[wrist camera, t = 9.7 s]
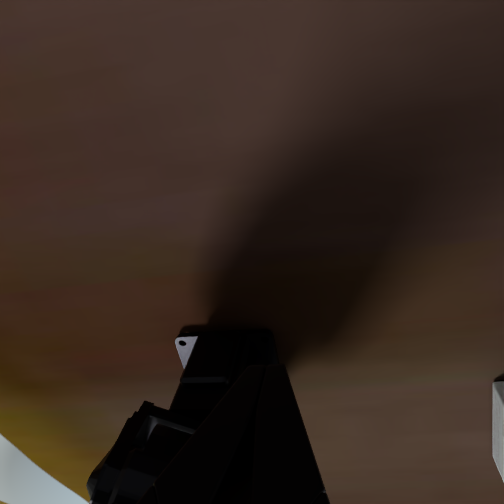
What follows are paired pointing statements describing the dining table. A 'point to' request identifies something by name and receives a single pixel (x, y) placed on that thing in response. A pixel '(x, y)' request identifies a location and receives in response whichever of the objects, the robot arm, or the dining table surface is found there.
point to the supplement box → (498, 426)
